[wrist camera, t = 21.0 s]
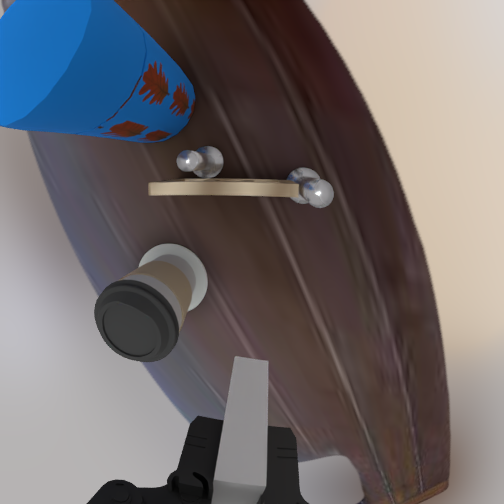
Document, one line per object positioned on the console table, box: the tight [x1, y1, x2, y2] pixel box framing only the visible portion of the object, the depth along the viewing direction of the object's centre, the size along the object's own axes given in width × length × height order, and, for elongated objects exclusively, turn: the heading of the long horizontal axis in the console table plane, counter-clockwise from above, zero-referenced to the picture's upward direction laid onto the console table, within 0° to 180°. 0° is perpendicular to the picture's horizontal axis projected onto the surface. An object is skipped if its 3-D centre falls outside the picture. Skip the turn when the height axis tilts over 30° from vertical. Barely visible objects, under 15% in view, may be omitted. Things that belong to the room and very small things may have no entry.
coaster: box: [139, 243, 208, 311], centre depth 40 cm, size 10×10×1 cm
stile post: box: [177, 146, 224, 178], centre depth 31 cm, size 4×4×10 cm
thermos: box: [0, 0, 195, 143], centre depth 22 cm, size 11×11×25 cm
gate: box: [149, 178, 299, 197], centre depth 31 cm, size 14×1×9 cm, turn 89°
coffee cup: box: [94, 254, 196, 362], centre depth 33 cm, size 9×9×15 cm
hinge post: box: [286, 168, 334, 208], centre depth 31 cm, size 4×4×12 cm
